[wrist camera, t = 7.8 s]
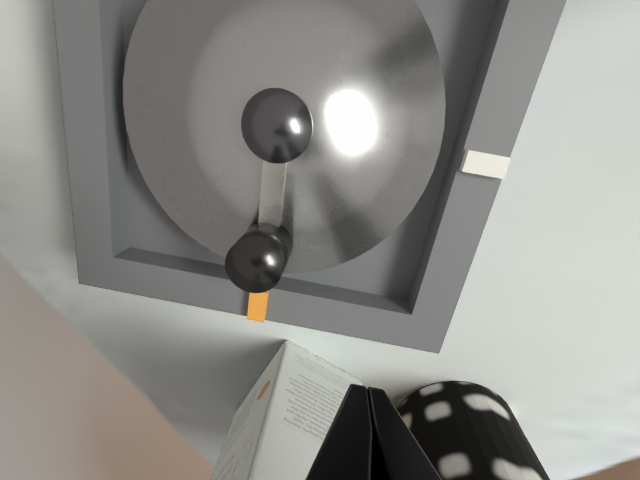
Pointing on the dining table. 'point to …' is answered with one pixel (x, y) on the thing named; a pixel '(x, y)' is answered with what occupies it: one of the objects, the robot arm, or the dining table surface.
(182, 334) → the dining table surface
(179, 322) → the dining table surface
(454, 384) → the spotted tube
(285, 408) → the small box
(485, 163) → the grey square tray
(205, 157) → the dial
